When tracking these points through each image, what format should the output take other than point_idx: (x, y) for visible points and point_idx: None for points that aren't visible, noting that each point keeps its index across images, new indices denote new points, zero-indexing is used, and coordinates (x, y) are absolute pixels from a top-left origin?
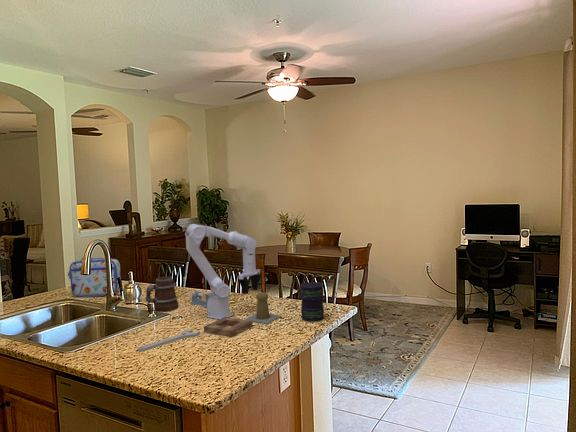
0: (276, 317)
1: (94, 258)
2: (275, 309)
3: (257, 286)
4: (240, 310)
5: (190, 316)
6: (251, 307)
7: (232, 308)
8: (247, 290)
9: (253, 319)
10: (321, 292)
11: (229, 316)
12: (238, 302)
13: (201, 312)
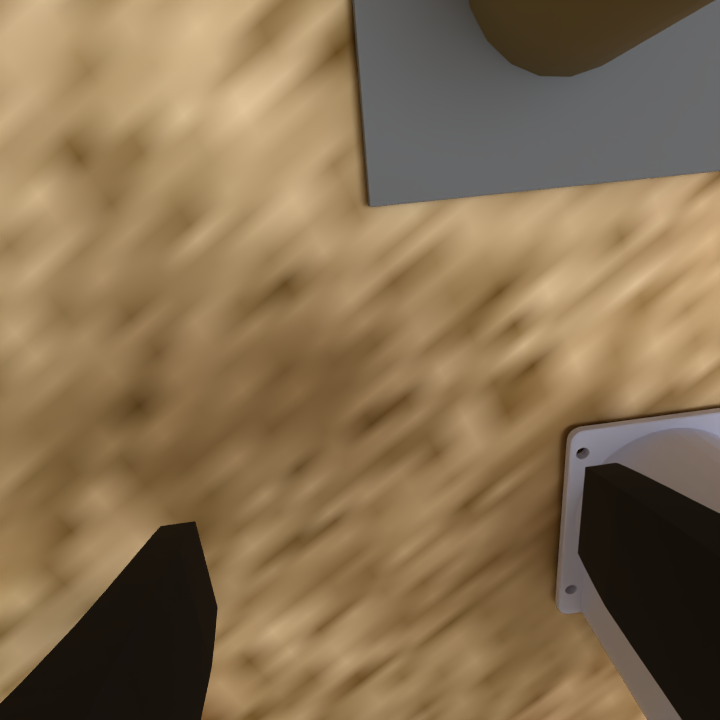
0: None
1: None
2: (55, 102)
3: (130, 584)
4: (374, 491)
5: None
6: (203, 471)
7: (355, 602)
8: (687, 500)
9: (698, 38)
10: None
11: (650, 418)
12: None
13: (587, 707)
